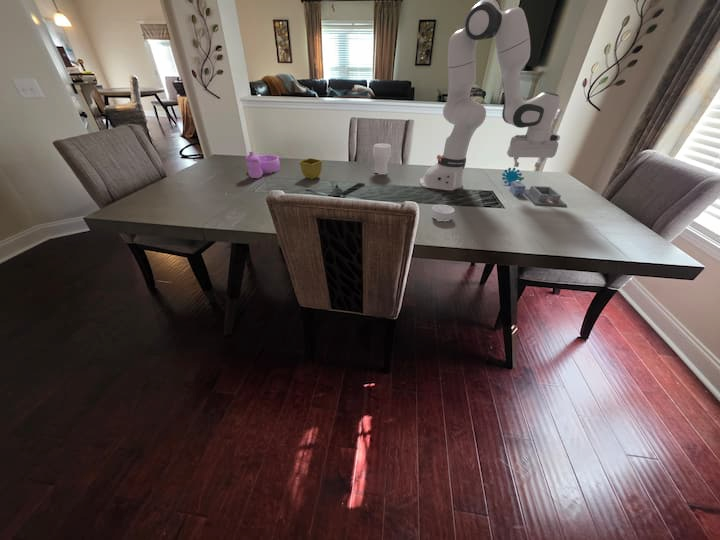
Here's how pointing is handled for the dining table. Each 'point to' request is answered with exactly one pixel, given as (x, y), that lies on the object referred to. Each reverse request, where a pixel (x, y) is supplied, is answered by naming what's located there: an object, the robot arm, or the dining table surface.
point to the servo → (517, 188)
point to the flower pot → (311, 167)
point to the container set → (262, 164)
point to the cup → (381, 157)
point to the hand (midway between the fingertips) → (526, 166)
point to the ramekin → (442, 212)
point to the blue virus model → (511, 176)
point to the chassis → (544, 196)
